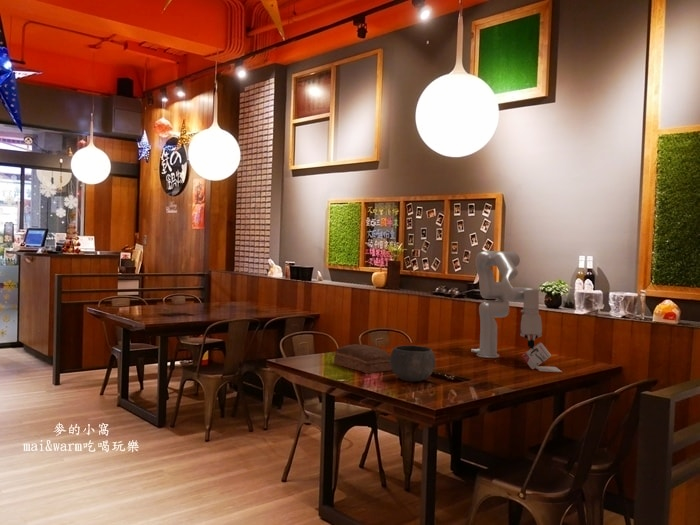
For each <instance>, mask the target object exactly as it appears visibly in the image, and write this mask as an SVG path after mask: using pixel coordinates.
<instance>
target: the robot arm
mask: <svg viewBox="0 0 700 525" xmlns="http://www.w3.org/2000/svg"><path fill="white" fill-rule="evenodd" d="M520 261H521V259H520V255H519V254H518V253H517V252H515V251H505V250H504V251H501V250H500V251H499V250H498V251H497V250H483V251H480V252H478V253H477V255H476V257H475V268H476V270H477V274H478V284H479V292H480V293H479V294H480V296H481V297H482V299H488V300H485V301H482V302H480V304H479V306H478V314H479V320H480V321H479V322H480V323H479V324H480V328H479V329H480V331H479V333H480V334H479V347H478V348H471V350H470V351H471V353H476V356H477V357H479V358H486V359H497V358H498V359H499V357H500V354H498V352H497V351H498V323H497V321H496V319H497V318H506V317H507V316H508V315H509V314H510V302H513V303H515V302H517V303H519V302H522V303H523V305H522V306H523V307H522V309H520V313H522V314H521V318H520V334H519V336H520V337H524V338H525V339H526V340H527V347H528V348H529V349H531V348H533V347H534V346H535V341H536V339H538V338H540V337H541V338H542V336H543V334H542V333H543V324H542V323H543V322H542V316H541V315H540V314H539V311H540V309H539V308H540V303H539V302H540V300H539V299H540V297H539V296H540V294H539V293H540V291H539V288H537V287H536V288H535V287H525V286H524V287H522V286H520V287H519V286H517V287H513V285H512V284H511V282H510V281H512V280H514V279H515V278H516V277H517V276H518V274H519V271H518V269H517V268H516V267H518V266H519V265H520ZM490 267H496V269H498V271H499V273H500V274H501V276H502V278H501V281H495V275H494V272H493V271H492V269H491V268H490ZM491 299H494V300H491ZM495 299H496V300H495Z"/></svg>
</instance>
